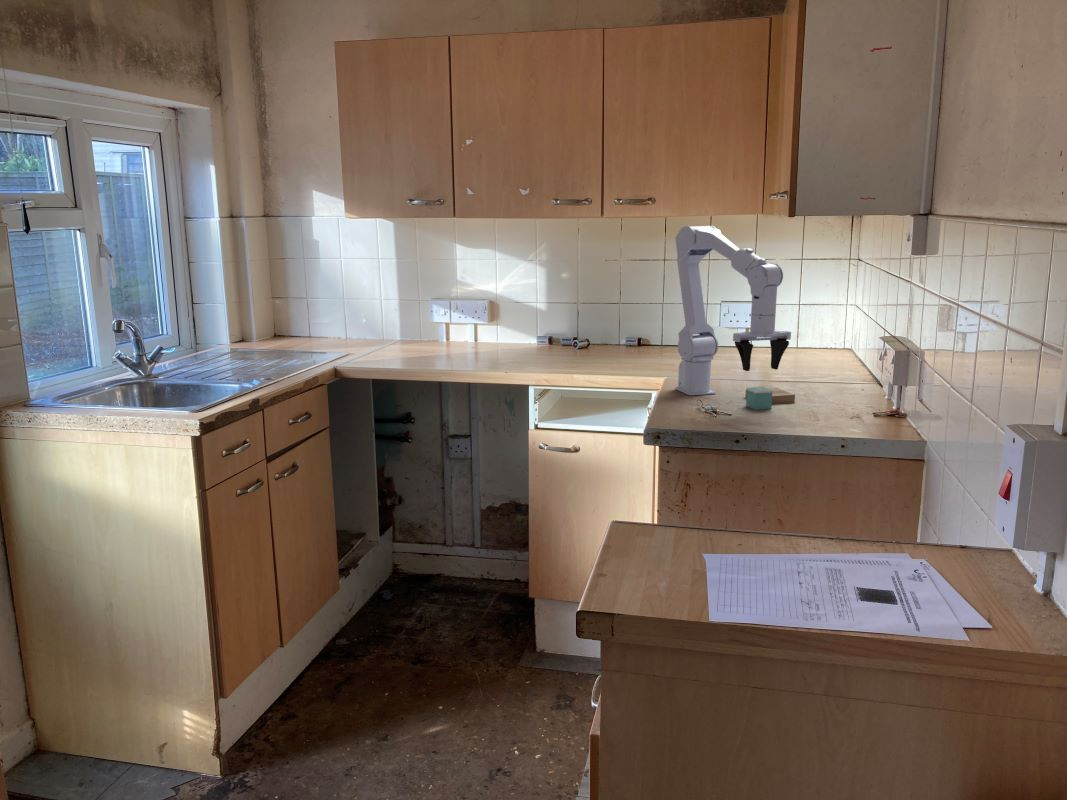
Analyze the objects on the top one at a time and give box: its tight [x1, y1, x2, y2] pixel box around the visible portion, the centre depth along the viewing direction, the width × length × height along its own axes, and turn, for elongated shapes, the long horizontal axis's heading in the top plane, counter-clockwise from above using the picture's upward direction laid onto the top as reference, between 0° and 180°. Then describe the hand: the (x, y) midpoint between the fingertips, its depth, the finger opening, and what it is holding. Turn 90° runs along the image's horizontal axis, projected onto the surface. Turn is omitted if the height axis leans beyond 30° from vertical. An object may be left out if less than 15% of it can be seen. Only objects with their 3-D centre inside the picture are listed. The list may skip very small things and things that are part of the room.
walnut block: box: [745, 387, 796, 405], centre depth 214 cm, size 9×9×2 cm
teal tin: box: [745, 386, 773, 411], centre depth 205 cm, size 5×5×5 cm
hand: (760, 369), depth 204 cm, fingers open, 7 cm apart
